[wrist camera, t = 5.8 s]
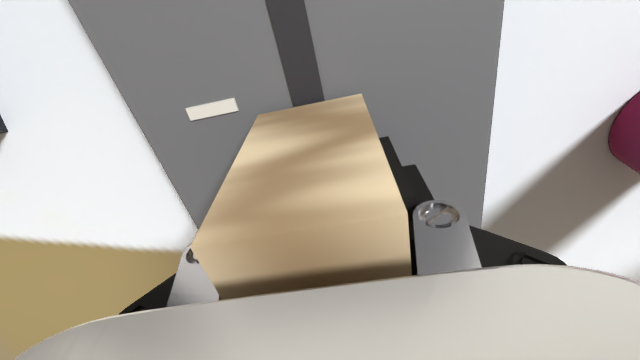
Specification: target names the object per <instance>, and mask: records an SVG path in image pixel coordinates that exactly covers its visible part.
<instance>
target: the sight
mask: <svg viewBox="0 0 640 360" xmlns="http://www.w3.org/2000/svg"><path fill="white" fill-rule="evenodd" d="M4 132H8V130H7V128H6V126H5V124H4V122H3V120H2V118H1V115H0V133H4Z"/></svg>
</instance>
